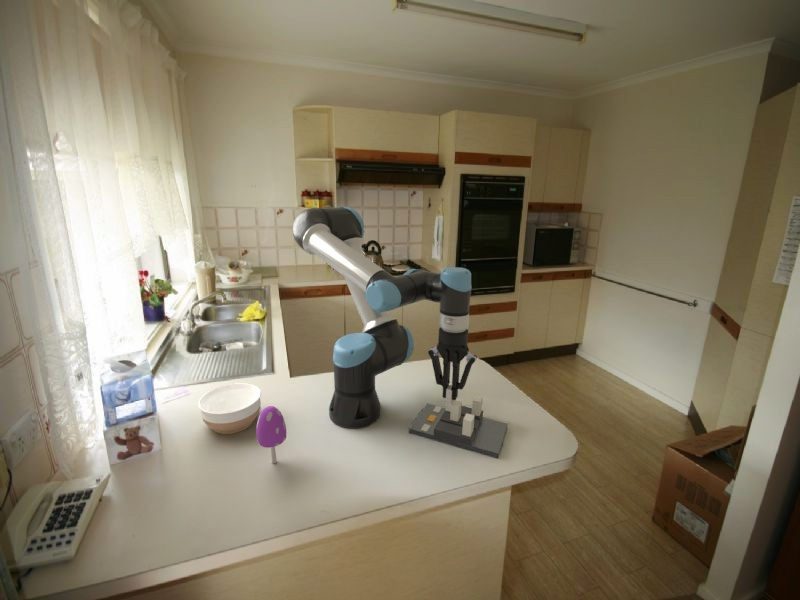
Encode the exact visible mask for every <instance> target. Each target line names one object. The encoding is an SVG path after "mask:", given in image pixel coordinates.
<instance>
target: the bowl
mask: <svg viewBox="0 0 800 600" xmlns="http://www.w3.org/2000/svg"><path fill="white" fill-rule="evenodd" d="M261 396H262V391H261V389H260V388H259V387H258V386H256V385H254V384H251V383H245V382H244V383H243V382H241V383H240V382H237V383H230V384H225V385H221V386H218V387H215V388H213V389H211V390H209V391H207V392H206V393H204V394H203V395H202V396H201V397H200V399H199V400H198V403H197V406H198V409H199V410H200V417H201V418H202V420H203V421H202V422H204V424H205V425H206V426H207V427H209V428H210V429H212V430H213V431H214V432H215V433H218V434H222V435H223V434H224V435H226V434H227V435H228V434H234V433H238V432H239V433H240V432H241V431H243V430H245V429H248V428H249V427H250V426H251V425H252V424H253V422H254V420H255V419H256V418H257V416H258V414H259V412H260V411H261V404H262V401H261Z"/></svg>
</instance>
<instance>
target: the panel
mask: <svg viewBox="0 0 800 600" xmlns="http://www.w3.org/2000/svg"><path fill="white" fill-rule="evenodd" d="M444 411H445V407H443V406H439V405H435V404H431V403H426V404H425V405H424V407H423V408H422V410H421V411H420V413H419V414H417V416H416V418H415V420H414V421H412V422H413V423H412V424H411V425H410V427H409V428H408V433H409V434H412V435H414V436H418V437H421V438H424V439H428V440H431V441H434V442H438V443H442V444H445V445H448V446H453V447H456V448H459V449H462V450H467V451H469V452H474V453H477V454H481V455H484V456H487V457H490V458H495V459H499V457H500V454H501V451H502V447H503V443H504V440H505V437H506V434H507V430H508V425H509V424H508V422H503V421H500V420H497V419H493V418H492V419H491V418H487V417H484V416H483V418H482V420H481V423H480V425H479V428H478V430H477V432H476V435H475V437H474V440H473V442H472V444H471V446H469V445H465V444H462V443H458V442H455V441H451V440H448V439H444V438H441V437H437V436H434V428H435V426H436V425H437V423H438V421H440V418H441V416H442V415H443V413H444Z"/></svg>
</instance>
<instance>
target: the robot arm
mask: <svg viewBox="0 0 800 600" xmlns="http://www.w3.org/2000/svg"><path fill="white" fill-rule="evenodd" d="M364 228H365V223H364V220H363V218H362V216H361V214H360V213H359V212H358V211H357V210H356V209H354V208H352V207H349V206H341V205H340V206H335V207H334V206H332V207H310V208H306V209H304V210H302V211H301V212H300V213H299V214H298V215H297V216H296V217H295V219H294V221H293V223H292V236H293V239H294V241H295V242H296V244H297V245H298V247H300V248H301V249H302V250H303V251H304V252H306V253H307V254H309V255H312V256H315V255H316V256H317V257H318V258H319V259H321V260H322V261H324V262H325V263H326V264H327V265H328V266H330V267H331V268H332V269H334V270H335V271H336V272H338V273H339V274H340V275H342V276H343V278H344V281H345V282H346V285H347V288H348V290H349V292H350V295H351V298H352V299H353V302H354V304H355V307H356V310H357V312H358V314H359V316H360V319H361V321H362V324H363V328H362V331H361V332H356V333H353V332H352V333H349V334H346V335H343V336H342V337H340V338H339V339H337V341H336V342H335V343H334V346H333V354H332V362H333V381H334V383H333V384H334V386H333V387H334V392H333V395H332V397H331V400H330V404H329V407H328V414H329V419H330V421H331V422H332V423H333V424H335V426H338V427H341V428H346V429H361V428H365V427H367V426H370V425H372V424H375V423H376V422H377V421H378V420H379V419H380V417H381V415H382V405H381V402H380V399H379V395H378V394H377V390H376V377H377V376H378V375H380V374H383V373H385V372H387V371H389V370H391V369H393V368H396V367H399V366H401V365H403V363H405V362H407V361H409V359H410V358H411V357H412V355H413V352H414V349H415V348H414V347H415V340H414V337H413V335H412V333H411V330H409V328H407V327H406V326H405V325H402V324H400V323H399V321H398V319H397V318H396V317H394V316H391V314H390V312H389V311H393V310H396V309H399V308H401V307H404V306H408V305H411V304H415V303H418V302H421V301H429V302H433V303H438V304H439V322H438V326H439V328H438V342H437V344H436V346H435V347H431V348H430V349H429V350H428V351H427V355H429V357H430V359H431V363H432V364H431V365H432V368H433V373H434V378H435V382H436V385H440V386H441V387H442V398H443V399H445V407H444V408H445V411H449V412H451V404H452V403H453V401H454V400H457V398H458V395H459V392H458V391H459V390H463V389H464V387H465V386H466V384H467V381H468V378H469V375H470V372H471V369H472V367H473V366H472V365H473V364H474V363H475V362H476V361H477V358H478V356H477V355H476V354H472V353H471V352H470V351H469V350H470V349H469V347H468V344H469V343H468V340H469V330H468V329H469V327H470V324H469V323H470V305H471V302H470V301H471V294H472V289H473V288H472V287H473V286H472V273H471V271H470V270H469V269H467V268H465V267H461V266H460V267H459V266H458V267H456V266H449V267H445V268H442V269H441V273H439V272H434V271H428V270H424V269H422V268H418V269H416V268H411V269H410V268H409V269H408V270H406V272H404V273H403V274H402V275H399V276H394V275H393V274H391V273H390V272H387V270H385V269H384V268H382V267H381V266H379V265H378V264H376V263H375V262H373V260H370V258H368V257H366V255H365V254H364V252H363V249H362V245H363V242H364V240H363V237H364V234H365V230H364ZM439 354H440V355H439ZM440 357H441V359H442V365H443V366H441V361H440ZM465 357H466V364H465V366H464V369H463V372H462V375H461V378H460V368H461V367H460V365H461V361H462V360H464V358H465ZM451 363H452V364H451ZM451 365H452V378H451V381H450V377H451ZM442 367H443V369H442ZM450 383H451V384H450Z"/></svg>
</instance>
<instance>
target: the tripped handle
mask: <svg viewBox="0 0 800 600" xmlns="http://www.w3.org/2000/svg"><path fill="white" fill-rule="evenodd" d="M462 404H463V403H462V400H461V401H460V400H457V399H456V400H454V401H453V403H452V404H451V413H450V420H453V421H457V422H458V421H459V419H460V417H461V407H462V406H463V405H462Z"/></svg>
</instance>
